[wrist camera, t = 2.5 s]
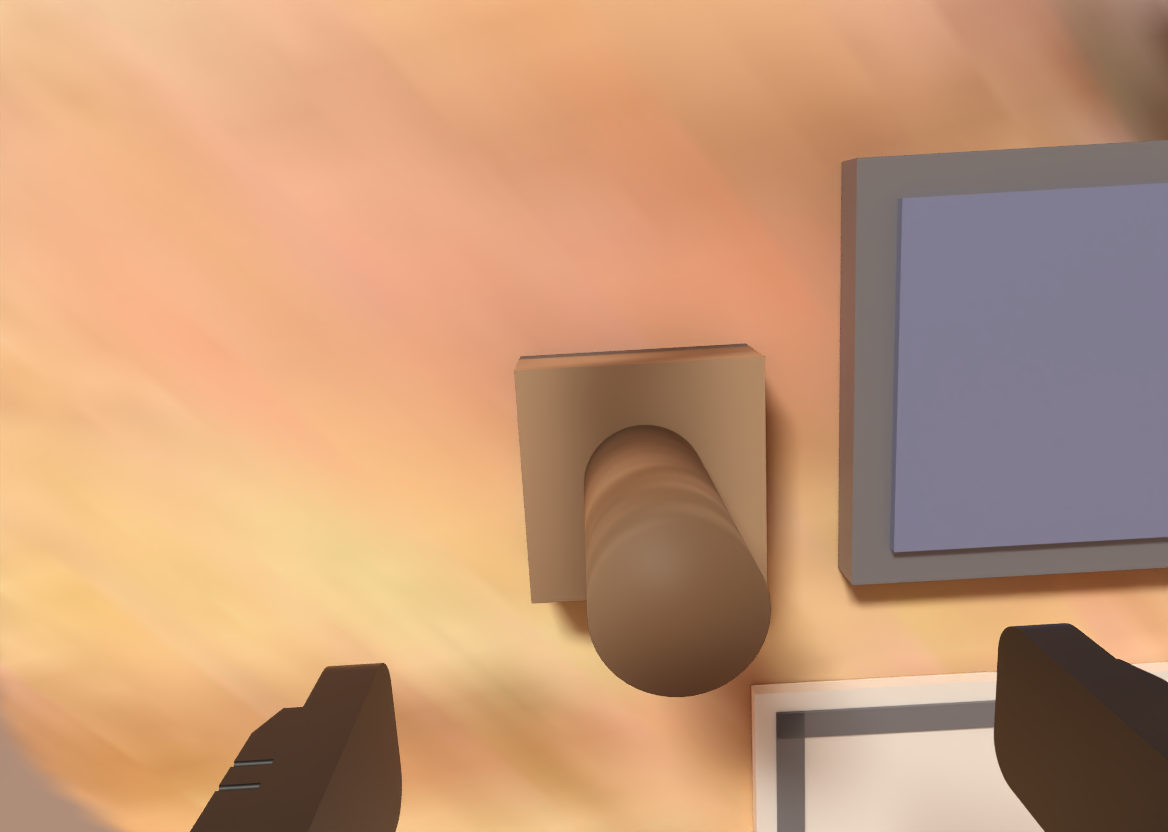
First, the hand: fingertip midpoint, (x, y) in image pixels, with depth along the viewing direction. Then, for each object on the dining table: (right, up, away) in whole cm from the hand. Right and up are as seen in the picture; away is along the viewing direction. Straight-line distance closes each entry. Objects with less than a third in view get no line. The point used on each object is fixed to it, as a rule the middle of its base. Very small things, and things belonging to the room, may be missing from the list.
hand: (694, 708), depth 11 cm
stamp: (0, +3, +12) cm, 12 cm away
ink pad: (+11, +5, +12) cm, 17 cm away
